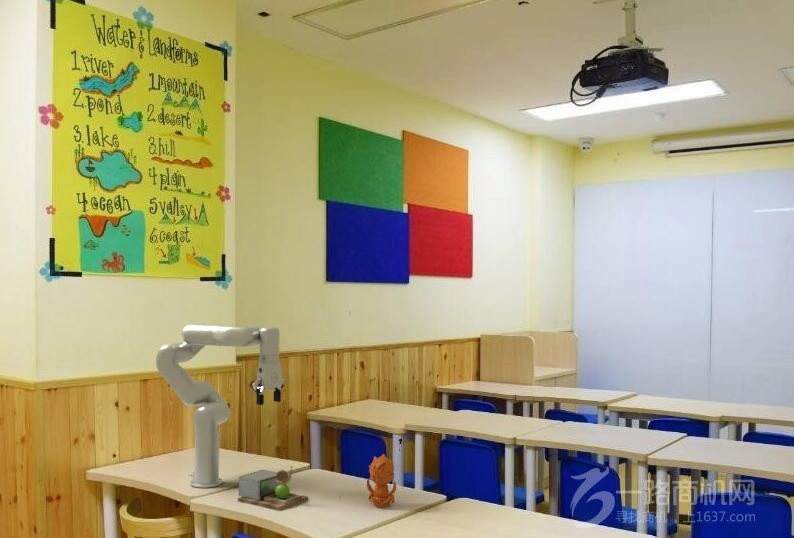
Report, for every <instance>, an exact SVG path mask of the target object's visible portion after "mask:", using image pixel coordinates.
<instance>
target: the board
mask: <svg viewBox="0 0 794 538" xmlns="http://www.w3.org/2000/svg"><path fill="white" fill-rule="evenodd" d="M306 501H309V496H307V495H303V494H299V493H295V492H291V491H290V494H289V496H288V497H287V498H285V499H279V498H278V497H277V496H276V495H275V492H272V493H269V494H266V495H263V496H262V498H261V500H260V501H259V500H255V499H250V498H246V497H241V496H238V497H237V502H240V503H245V504H248V505H252V506H258V507H261V508H267V509H271V510H274V511H282V510H284V509H288V508H290V507H293V506H296V505H298V504H300V503H303V502H306Z"/></svg>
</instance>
